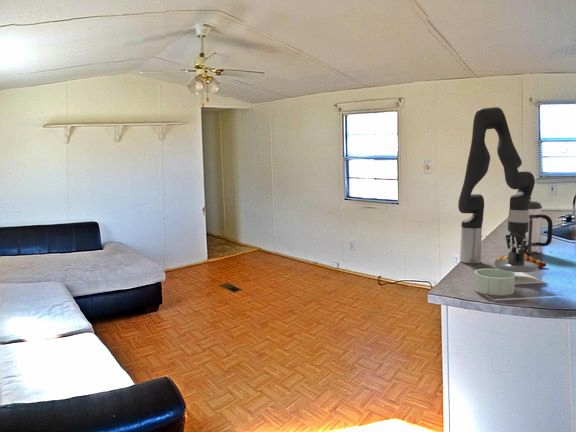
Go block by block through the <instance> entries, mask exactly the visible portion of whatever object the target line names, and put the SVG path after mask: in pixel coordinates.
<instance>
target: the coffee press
mask: <svg viewBox="0 0 576 432" xmlns="http://www.w3.org/2000/svg"><path fill="white" fill-rule="evenodd" d="M542 209H543V206H542V203H540V202H538V201H537V200H536V201H534V200H532V196H531V197H530V199H529V227H528V232H526V233H525V235H526V239H527V240H530V245H529V247H528V250H527V252H526V254H527V255H528V256H530V257H532V253H536V252H537V253H539V254H542V253H543V250H542V249H541V248H540V247H548V246H549V245H550V244H551V243H552V239H553V221H552V218H551V217H550V216H548V215H546V214H542ZM542 219H544V220H546V221H547V236H546V237H547V238H546V241H545V242H541V230H542V229H541V228H542V227H541V226H542ZM519 246H521V245H519ZM519 250H520V248H519ZM539 251H540V252H539Z"/></svg>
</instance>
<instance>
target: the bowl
mask: <svg viewBox="0 0 576 432" xmlns="http://www.w3.org/2000/svg"><path fill="white" fill-rule="evenodd" d="M473 273H474V274H473V276H474V277H473V290H474V291H475V292H476V293H477V294H480V295H484V296H487V295H491V296H511V295H513V294H515V285H516V284H515V274H514V273H515V272H512V271H506V270H502V269H499V268H479V269H475V270H474V272H473Z"/></svg>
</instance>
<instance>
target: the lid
mask: <svg viewBox="0 0 576 432" xmlns="http://www.w3.org/2000/svg"><path fill="white" fill-rule="evenodd" d="M516 253H517V252H511V251H508V255H509V259H507V260H498V261H496V260H495V261H494V266H495V267H496V269H501V270H505V271H510V272H512V273H515V272H523V273H533V272H537V271H538V270H539V268H538V265H537V264H535V263H532V262H528V261H524V256H525V254H526V253H523V255H522V262H516Z"/></svg>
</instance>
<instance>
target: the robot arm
mask: <svg viewBox="0 0 576 432" xmlns="http://www.w3.org/2000/svg"><path fill="white" fill-rule="evenodd" d="M493 129H494V131H495V132H496V133H497V136H498V143H497V147H496V148H497V149H496V150H497V151H496V152H497V156H498V158H499V161H500V163H501V165H502V167H503V173H504V178H505V179H504V180H505V183H506V185H507V186H508V187H509V188H510V189H511V190H517V192H516V193H515V194H512V195H511V196H510V198H509V210H508V215H507V216H508V217H507V219H508V220H507V231H508V232H509V234H505V240H506V246H507V249H509V252H517V253H516V262H522V255H523V253H525V254H527V250H528V247H529V245H530V240H527V239H526V235H525V233H526V232H528V227H529V199H530V197H531V198H532V193H533V190H534V188H535V184H536V181H535V176H534V174H533V173H532V172H531V171H519V170H518V169H519V168H520V167H521V166H522V165H523V161H522V159H521V157H520V155H519V153H518V151H517V149H516V147H515V145H514V143H513V139H512V135H511V132H510V129H509V125H508V121H507V118H506V114H505V112H504V111H503V110H502V108H501V107H497V106H492V107H485V108H484V107H483V108H479V109H478V110H477V111H476V112H475V114H474V118H473V124H472V133H471V134H472V135H471V143H470V149H469V154H468V158H467V164H466V169H465V173H464V174H465V175H464V180H463V184H462V188H461V191H460V194H459V198H458V206H457V207H458V211H459V213H461V214H472V215H471V216H469V217H468V218H466V219H464V220H462V221H461V226H460V227H461V228H460V230H461V231H460V233H461V234H460V235H461V236H460V248H459V249H460V253H459V254H460V255H459V259H460V260H459V261H460V262H462V263H463V264H472V265H474V264H480V263H481V262H482V261H481V260H482V238H483V235H482V234H483V224H484V223H483V222H484V214H485V213H484V211H485V198H484V196H483V195H482V194H479V193H473V194H472V192H473V190H474V188H476V186H477V184H478V183H480V182H481V180H482V179H484V177H485V176H486V175H487V174H488V171H489V166H490V162H491V155H490V152H489V149H488V148H487V145H486V140H485V138H486V134H487V133H486V131H488V130H493ZM530 200H531V199H530ZM519 245H521V246H519ZM519 248H520V250H519Z"/></svg>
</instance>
